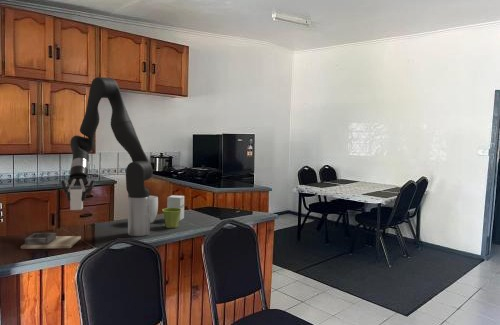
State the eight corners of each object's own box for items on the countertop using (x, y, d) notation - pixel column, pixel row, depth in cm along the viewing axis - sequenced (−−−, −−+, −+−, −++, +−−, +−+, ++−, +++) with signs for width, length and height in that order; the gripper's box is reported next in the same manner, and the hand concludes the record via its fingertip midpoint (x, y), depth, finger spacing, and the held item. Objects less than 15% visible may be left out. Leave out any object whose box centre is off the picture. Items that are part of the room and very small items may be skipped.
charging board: (80, 238, 162) (80, 230, 162) (69, 248, 149) (69, 239, 148) (36, 238, 160) (36, 230, 160) (20, 248, 146) (20, 239, 146)
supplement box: (179, 221, 199) (180, 197, 198) (166, 220, 200) (166, 197, 199) (184, 218, 206) (184, 195, 205) (171, 217, 207) (171, 194, 206)
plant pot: (175, 230, 181) (175, 212, 181) (158, 227, 184) (158, 210, 184) (184, 225, 190) (185, 208, 189) (168, 223, 193) (168, 207, 192)
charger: (82, 207, 169) (82, 185, 168) (81, 209, 164) (81, 187, 164) (71, 208, 167) (71, 185, 167) (70, 210, 163) (70, 187, 162)
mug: (140, 227, 184) (141, 200, 183) (125, 224, 190) (125, 198, 189) (162, 221, 197) (162, 196, 196) (146, 218, 203) (146, 194, 202)
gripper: (61, 164, 169) (56, 195, 159) (95, 164, 174) (93, 195, 163) (63, 175, 175) (59, 206, 164) (96, 175, 179) (94, 205, 169)
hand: (76, 200), depth 164 cm, fingers closed on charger, 4 cm apart
